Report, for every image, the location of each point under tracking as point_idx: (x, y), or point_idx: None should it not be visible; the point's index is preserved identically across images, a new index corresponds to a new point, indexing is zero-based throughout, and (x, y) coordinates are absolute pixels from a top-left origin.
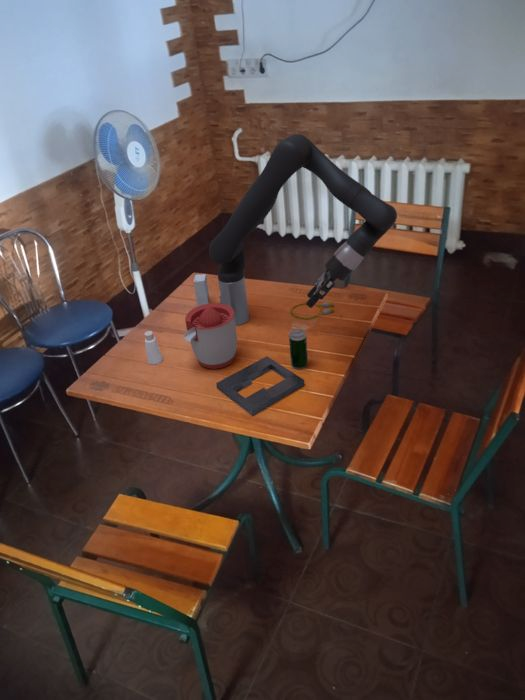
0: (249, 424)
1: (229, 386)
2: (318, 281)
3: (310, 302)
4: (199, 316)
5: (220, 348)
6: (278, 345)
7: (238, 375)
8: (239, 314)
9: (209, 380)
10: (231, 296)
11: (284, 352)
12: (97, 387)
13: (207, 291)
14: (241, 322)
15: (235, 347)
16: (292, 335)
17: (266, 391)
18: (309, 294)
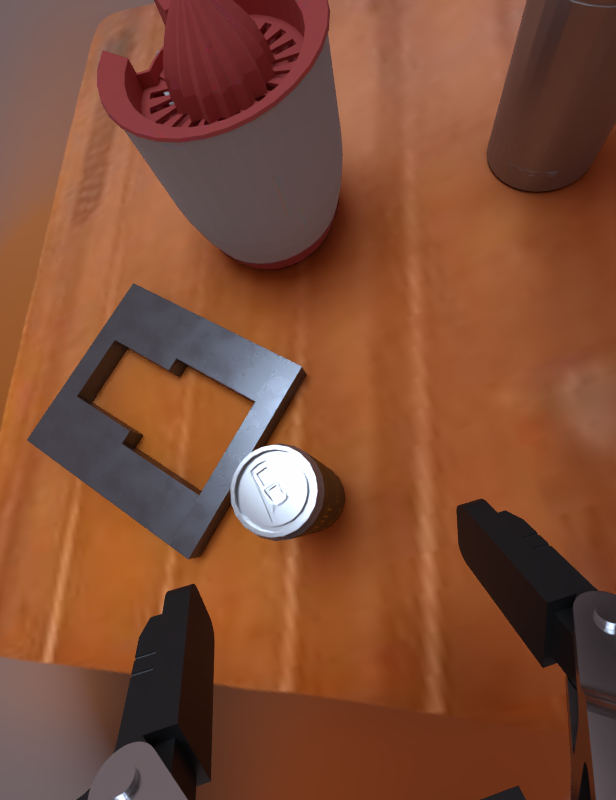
0: (13, 449)
1: (122, 327)
2: (585, 741)
3: (141, 659)
4: (260, 17)
5: (182, 210)
6: (414, 371)
7: (177, 326)
8: (517, 142)
9: (175, 256)
10: (533, 25)
11: (375, 411)
12: (113, 49)
13: None
14: (510, 177)
15: (261, 248)
16: (247, 470)
17: (111, 447)
18: (471, 530)
